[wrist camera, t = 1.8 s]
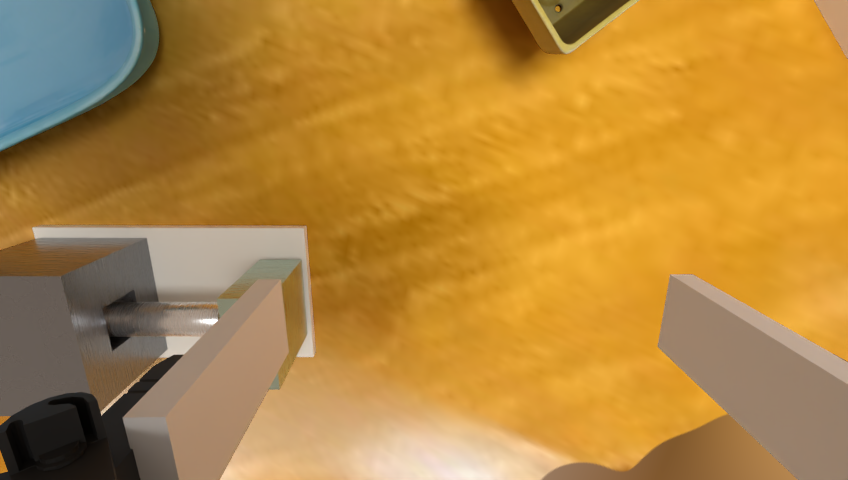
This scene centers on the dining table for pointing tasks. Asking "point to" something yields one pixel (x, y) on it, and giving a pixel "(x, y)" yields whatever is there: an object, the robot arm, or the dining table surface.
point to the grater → (836, 20)
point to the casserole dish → (68, 59)
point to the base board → (205, 261)
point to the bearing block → (71, 319)
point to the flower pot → (568, 20)
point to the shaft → (216, 311)
